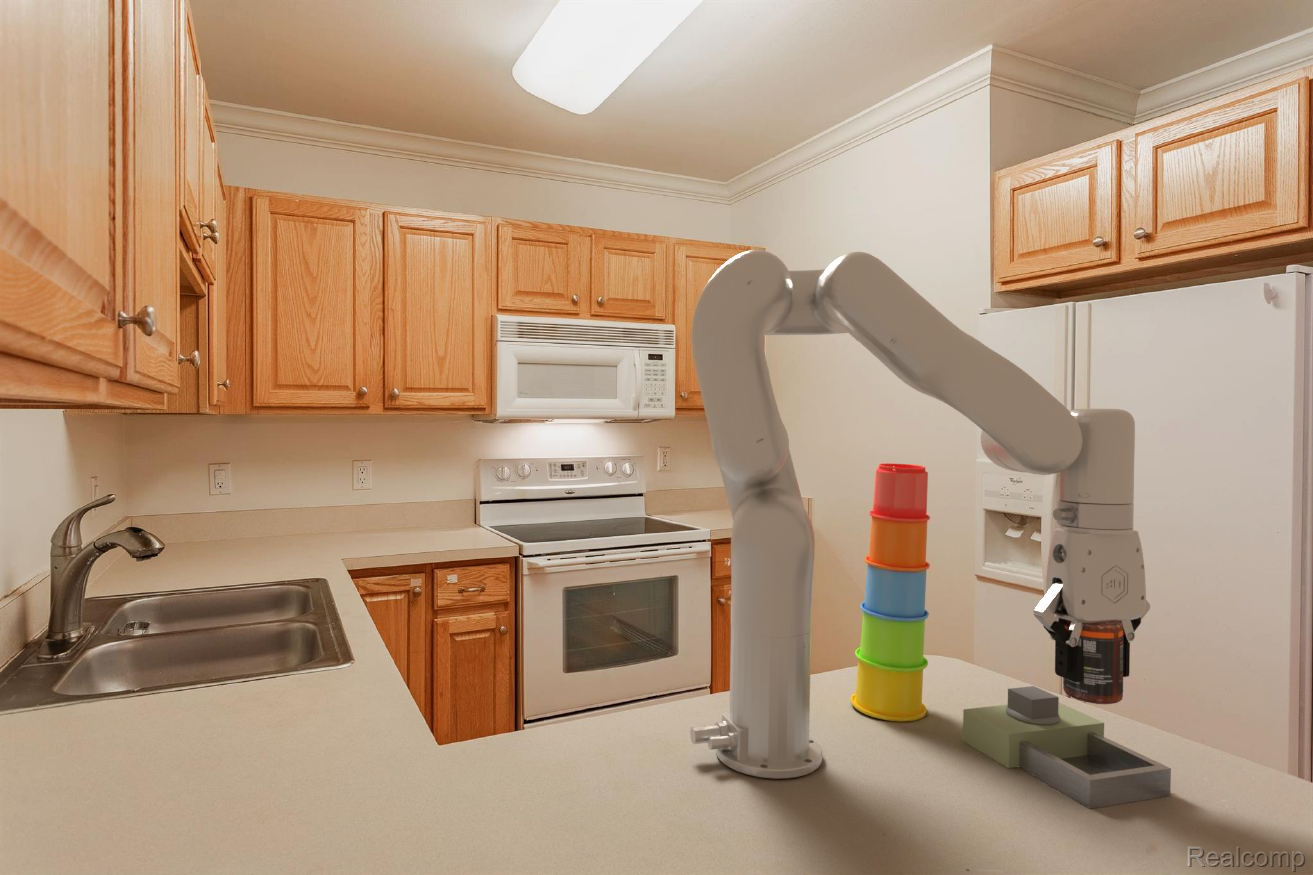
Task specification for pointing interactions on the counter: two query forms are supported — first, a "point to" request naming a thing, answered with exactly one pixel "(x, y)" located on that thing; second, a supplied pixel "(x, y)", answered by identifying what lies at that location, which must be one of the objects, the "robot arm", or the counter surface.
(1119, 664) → the supplement bottle
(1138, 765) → the grey square tray
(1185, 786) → the counter surface
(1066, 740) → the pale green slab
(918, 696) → the stacking cups
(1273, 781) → the counter surface
